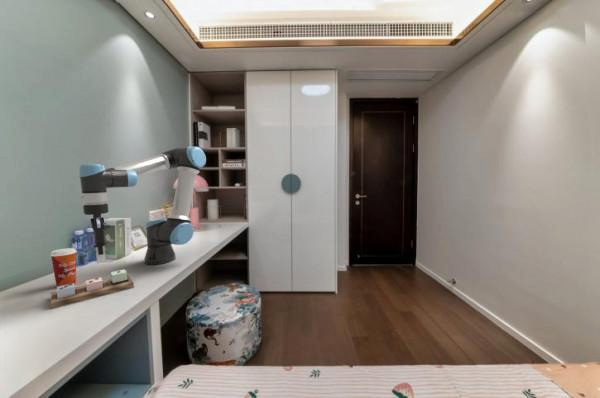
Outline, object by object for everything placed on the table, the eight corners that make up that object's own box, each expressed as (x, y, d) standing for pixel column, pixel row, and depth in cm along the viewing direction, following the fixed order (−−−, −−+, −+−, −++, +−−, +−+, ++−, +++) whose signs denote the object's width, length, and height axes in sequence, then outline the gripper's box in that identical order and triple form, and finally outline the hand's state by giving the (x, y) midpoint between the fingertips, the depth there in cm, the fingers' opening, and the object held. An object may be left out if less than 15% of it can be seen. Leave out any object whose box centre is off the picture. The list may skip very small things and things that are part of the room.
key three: (75, 291, 94) (74, 282, 94) (75, 295, 91) (74, 286, 91) (57, 295, 91) (56, 286, 91) (57, 299, 88) (56, 290, 87)
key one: (125, 276, 105) (124, 268, 105) (127, 279, 102) (126, 271, 102) (111, 279, 102) (110, 271, 102) (112, 283, 99) (112, 274, 98)
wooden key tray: (128, 279, 109) (128, 275, 109) (133, 287, 101) (133, 282, 101) (52, 297, 93) (51, 292, 93) (51, 308, 84) (50, 303, 84)
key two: (101, 284, 100) (101, 276, 100) (102, 288, 96) (102, 279, 96) (86, 288, 97) (85, 279, 96) (86, 292, 93) (86, 283, 93)
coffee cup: (62, 289, 100) (59, 253, 99) (47, 287, 101) (44, 252, 100) (84, 281, 108) (82, 247, 107) (69, 279, 110) (67, 247, 109)
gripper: (82, 203, 98) (88, 260, 100) (83, 205, 89) (90, 268, 91) (106, 201, 103) (111, 256, 105) (109, 203, 94) (115, 263, 96)
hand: (101, 261), depth 98 cm, fingers closed
